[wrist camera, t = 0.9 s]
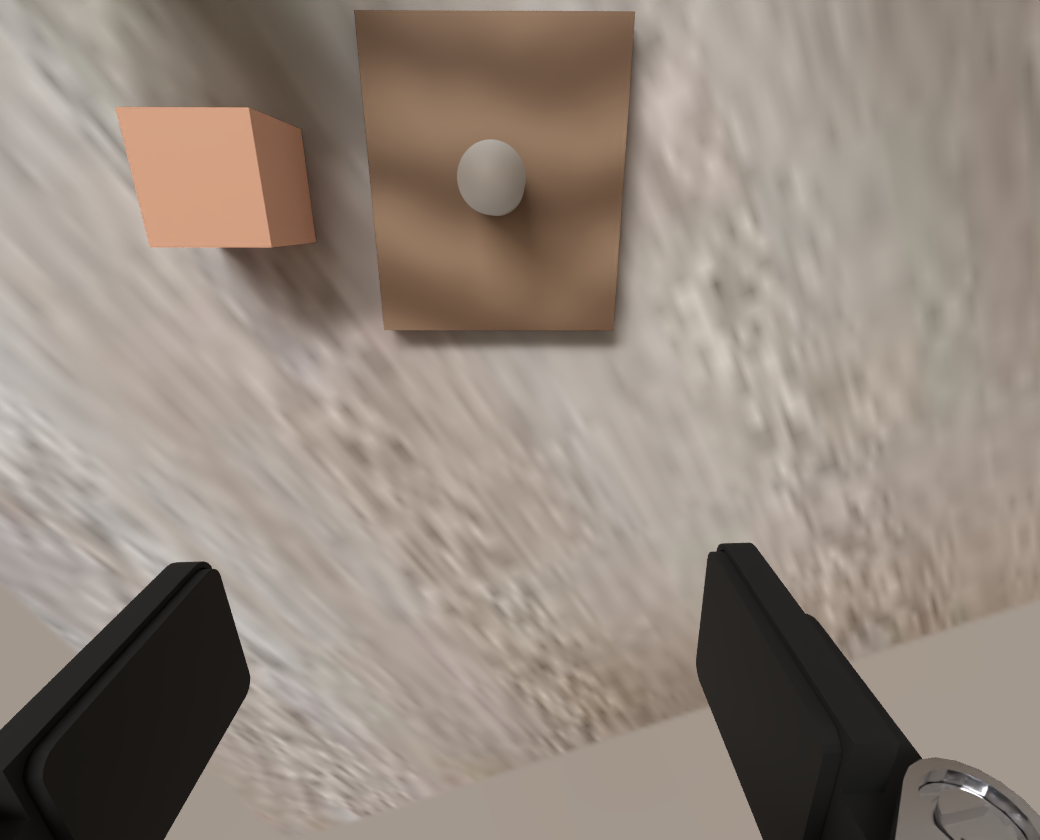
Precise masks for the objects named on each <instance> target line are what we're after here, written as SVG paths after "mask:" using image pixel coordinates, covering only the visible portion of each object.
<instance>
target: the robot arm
mask: <svg viewBox="0 0 1040 840" xmlns="http://www.w3.org/2000/svg"><path fill="white" fill-rule="evenodd" d="M696 667H697V673H698V678H699V681H700V683H701V686H702V688H703V691H704V693H705V696H706V698H707V701H708V703H709V706H710V708H711V711H712V713H713V716H714V718H715V721H716V723H717V726H718V728H719V730H720V733H721V736H722V738H723V741H724V743H725V746H726V748H727V750H728V753H729V756H730V758H731V760H732V763H733V766H734V768H735V770H736V773H737V776H738V778H739V781H740V783H741V786H742V788H743V791H744V793H745V796H746V798H747V801H748V803H749V806H750V808H751V811H752V813H753V816H754V818H755V821H756V823H757V826H758V828H759V831H760V833H761V836H762V838H763V840H1040V816H1039V815H1038V814H1037V813H1036V812H1035V811H1034V810H1033V809H1032V808H1031V807H1030V805H1029V804H1028V803H1027V802H1026V801H1025V800H1024V799H1022V798H1021V797H1020V796H1019V795H1017V794H1016V793H1015V792H1013V791H1012V790H1011V789H1009V788H1008V787H1007V786H1005V785H1004V784H1003V783H1001V782H1000V781H998V780H996V779H995V778H993V777H991V776H989V775H988V774H986V773H984V772H982V771H981V770H979V769H976V768H974V767H971V766H968V765H966V764H963V763H960V762H957V761H954V760H948V759H942V758H928V759H922V758H921V756H920V755H919V754H918V752H917V751H916V750H915V748H914V747H913V746H912V745H911V743H910V742H909V741H908V739H907V738H906V737H905V735H904V734H903V733H902V731H901V730H900V729H899V728H898V726H897V725H896V724H895V723H894V721H893V719H892V718H891V717H890V716H889V714H888V713H887V712H886V710H885V709H884V708H883V707H882V705H881V704H880V702H879V701H878V700H877V698H876V697H875V696H874V695H873V693H872V692H871V691H870V689H869V688H868V687H867V685H866V684H865V683H864V681H863V680H862V679H861V677H860V676H859V675H858V673H857V672H856V671H855V669H854V668H853V667H852V665H851V664H850V663H849V661H848V660H847V659H846V657H845V656H844V655H843V654H842V652H841V651H840V650H839V648H838V647H837V646H836V644H835V643H834V642H833V640H832V639H831V638H830V636H829V635H828V634H827V632H826V631H825V630H824V628H823V627H822V626H821V625H820V623H819V622H818V621H817V620H816V619H815V618H814V617H812V616H810V615H808V614H805V613H804V611H803V610H802V609H801V607H800V606H799V605H798V603H797V602H796V601H795V599H794V598H793V597H792V595H791V594H790V592H789V591H788V590H787V588H786V587H785V586H784V584H783V583H782V582H781V580H780V579H779V578H778V576H777V575H776V574H775V572H774V571H773V570H772V568H771V567H770V565H769V564H768V563H767V561H766V560H765V559H764V557H763V556H762V555H761V553H760V552H759V551H758V549H757V548H756V547H755V546H754V545H753V544H752V543H725V544H720V545H719V546H718V548H717V552H710V553H709V555H708V559H707V568H706V577H705V586H704V595H703V603H702V612H701V621H700V630H699V639H698V648H697V657H696ZM249 685H250V674H249V670H248V667H247V663H246V660H245V657H244V653H243V650H242V646H241V643H240V640H239V636H238V633H237V630H236V626H235V623H234V619H233V616H232V613H231V609H230V606H229V603H228V599H227V596H226V593H225V589H224V586H223V582H222V579H221V576H220V574H219V572H218V571H217V570H216V569H212V567H211V565H209V564H208V563H207V562H176V563H172V564H170V565H169V566H167V567H166V568H165V569H164V570H163V571H162V572H161V573H160V574H159V575H158V576H157V577H156V578H155V579H154V580H153V581H152V582H151V583H150V584H149V585H148V586H147V587H146V588H145V589H144V590H142V591H141V592H140V593H139V594H138V595H137V596H136V597H135V598H134V599H133V600H132V601H131V602H130V603H129V604H128V605H127V606H126V607H125V608H124V609H123V610H122V611H121V612H120V613H119V614H118V615H117V616H116V617H115V618H114V619H113V620H112V621H111V622H110V623H109V624H108V625H107V626H106V627H105V628H104V629H103V630H102V631H101V632H100V633H99V634H98V635H97V636H96V637H95V638H94V639H93V640H92V641H91V642H89V643H88V644H87V645H86V646H85V647H84V648H83V649H82V650H81V651H80V652H79V653H78V654H77V655H76V656H75V657H74V658H73V659H72V660H71V661H70V662H69V663H68V664H67V665H66V666H65V667H64V668H63V669H62V670H61V671H60V672H59V673H58V674H57V675H56V676H55V677H54V678H53V679H52V680H51V681H50V682H49V683H48V684H47V685H46V686H45V687H44V688H43V689H42V690H41V691H40V692H39V693H38V694H37V695H35V697H33V698H32V699H31V700H30V701H29V702H28V703H27V704H26V705H25V706H24V707H23V708H22V709H21V710H20V711H19V712H18V713H17V714H16V715H15V716H14V717H13V718H12V719H11V720H10V721H9V722H8V723H7V724H6V725H5V726H4V727H3V728H2V729H1V730H0V840H164V838H165V837H166V835H167V833H168V831H169V829H170V828H171V826H172V824H173V823H174V821H175V819H176V817H177V816H178V814H179V812H180V810H181V809H182V807H183V805H184V803H185V802H186V800H187V798H188V796H189V795H190V793H191V791H192V789H193V788H194V786H195V784H196V782H197V781H198V779H199V777H200V775H201V774H202V772H203V770H204V769H205V767H206V765H207V763H208V762H209V760H210V758H211V756H212V755H213V753H214V751H215V749H216V748H217V746H218V744H219V742H220V741H221V739H222V737H223V735H224V734H225V732H226V730H227V728H228V727H229V725H230V723H231V721H232V720H233V718H234V716H235V714H236V713H237V711H238V709H239V707H240V706H241V704H242V702H243V700H244V699H245V697H246V695H247V693H248V689H249Z"/></svg>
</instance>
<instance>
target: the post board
mask: <svg viewBox="0 0 1040 840" xmlns="http://www.w3.org/2000/svg"><path fill="white" fill-rule="evenodd" d="M354 14H355V24H356V35H357V46H358V56H359V67H360V77H361V88H362V99H363V109H364V120H365V130H366V141H367V152H368V162H369V173H370V183H371V194H372V205H373V215H374V226H375V237H376V247H377V258H378V268H379V279H380V290H381V300H382V311H383V321H384V330H613V326H614V311H615V297H616V282H617V268H618V253H619V239H620V224H621V209H622V195H623V180H624V166H625V151H626V137H627V122H628V107H629V93H630V78H631V64H632V49H633V35H634V20H635V12H622V11H392V10H354Z"/></svg>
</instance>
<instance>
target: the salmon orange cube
mask: <svg viewBox="0 0 1040 840" xmlns="http://www.w3.org/2000/svg"><path fill="white" fill-rule="evenodd" d="M115 108H116V112H117V116H118V120H119V124H120V128H121V132H122V136H123V141H124V145H125V149H126V153H127V157H128V161H129V165H130V169H131V173H132V177H133V181H134V185H135V189H136V193H137V197H138V201H139V205H140V209H141V214H142V218H143V222H144V226H145V230H146V234H147V238H148V242H149V246H150V247H255V248H272V247H281V246H290V245H298V244H307V243H316V238H315V230H314V223H313V215H312V208H311V200H310V193H309V186H308V178H307V171H306V163H305V156H304V148H303V141H302V133H301V129H299V128H297V127H294V126H292V125H290V124H287V123H285V122H282V121H280V120H278V119H275V118H273V117H270V116H268V115H265V114H263V113H261V112H258V111H256V110H253V109H251V108H249V107H115Z"/></svg>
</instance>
